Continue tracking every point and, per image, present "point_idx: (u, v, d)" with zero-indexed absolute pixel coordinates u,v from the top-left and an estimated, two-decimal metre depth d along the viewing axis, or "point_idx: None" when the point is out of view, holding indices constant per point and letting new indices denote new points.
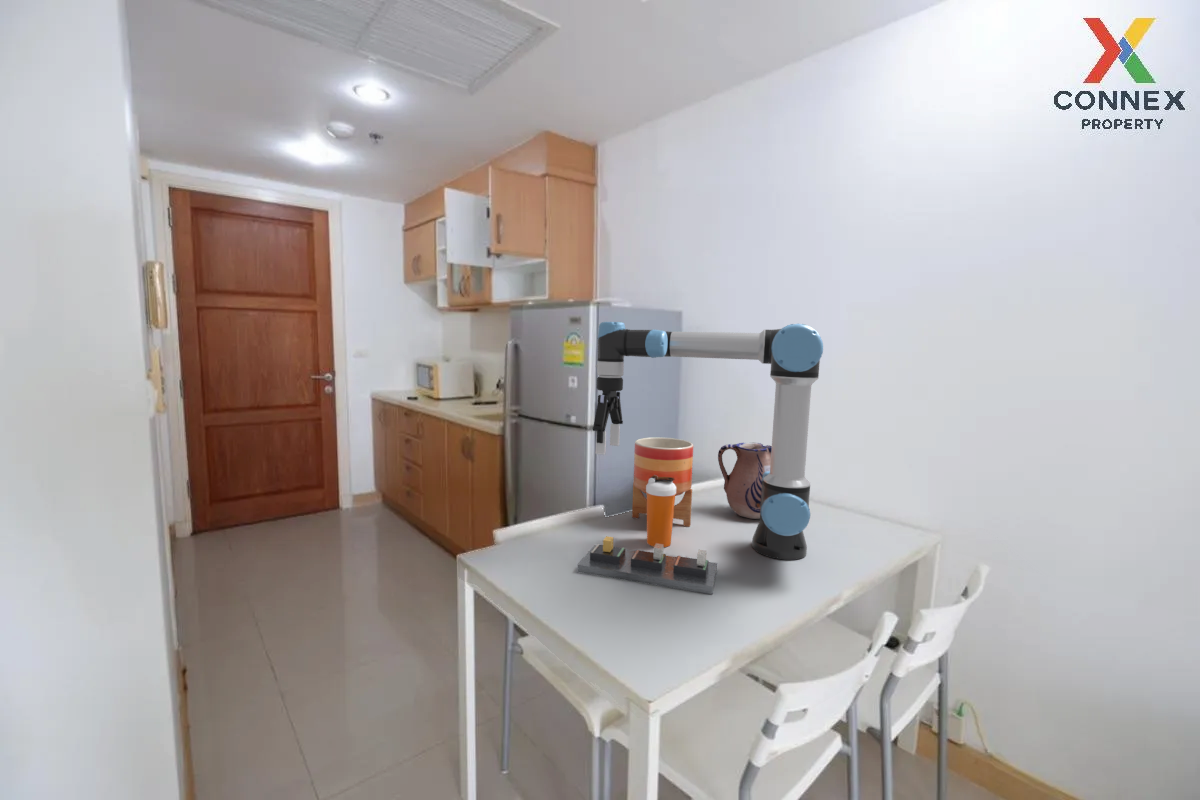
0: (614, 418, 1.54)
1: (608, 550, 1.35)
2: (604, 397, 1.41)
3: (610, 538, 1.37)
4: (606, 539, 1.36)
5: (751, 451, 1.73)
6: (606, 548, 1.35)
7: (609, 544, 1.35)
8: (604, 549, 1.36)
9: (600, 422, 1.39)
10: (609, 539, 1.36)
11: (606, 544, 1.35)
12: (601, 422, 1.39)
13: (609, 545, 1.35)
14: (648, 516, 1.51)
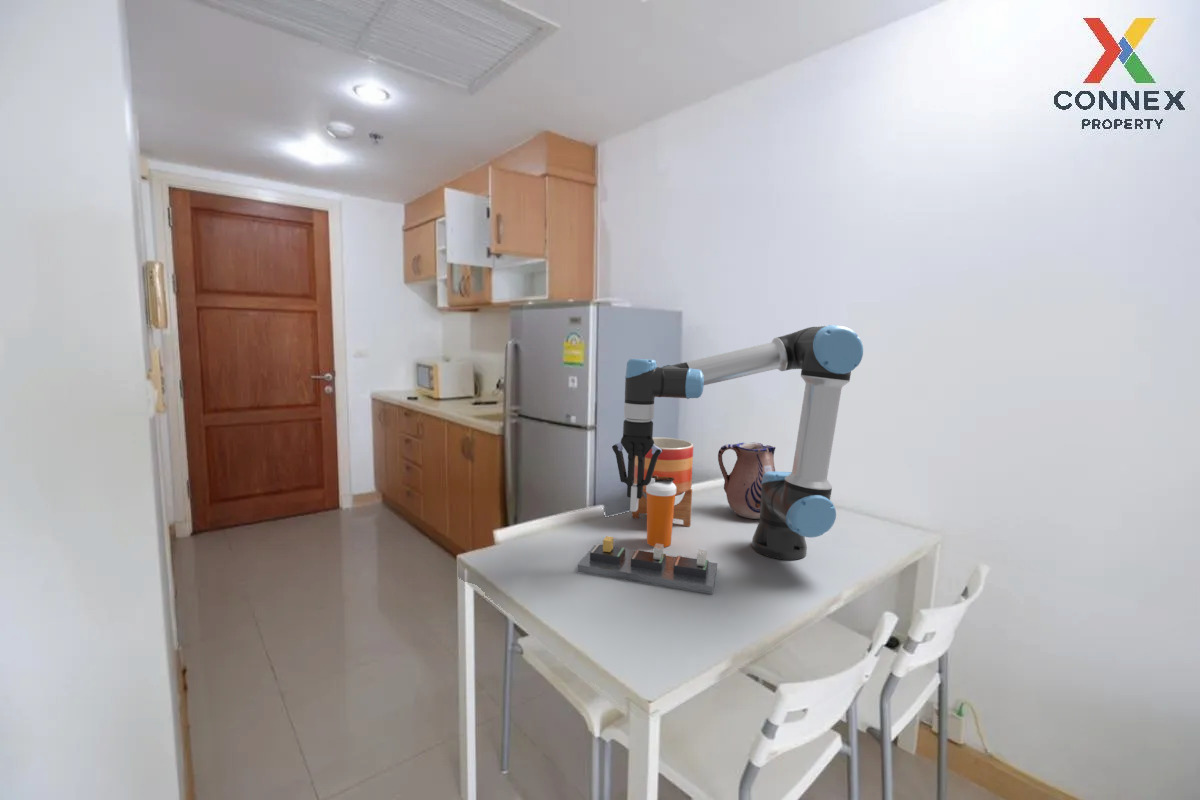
0: None
1: (608, 550, 1.35)
2: None
3: (610, 538, 1.37)
4: (606, 539, 1.36)
5: (751, 451, 1.73)
6: (606, 548, 1.35)
7: (609, 544, 1.35)
8: (604, 549, 1.36)
9: None
10: (609, 539, 1.36)
11: (606, 544, 1.35)
12: None
13: (609, 545, 1.35)
14: (648, 516, 1.51)
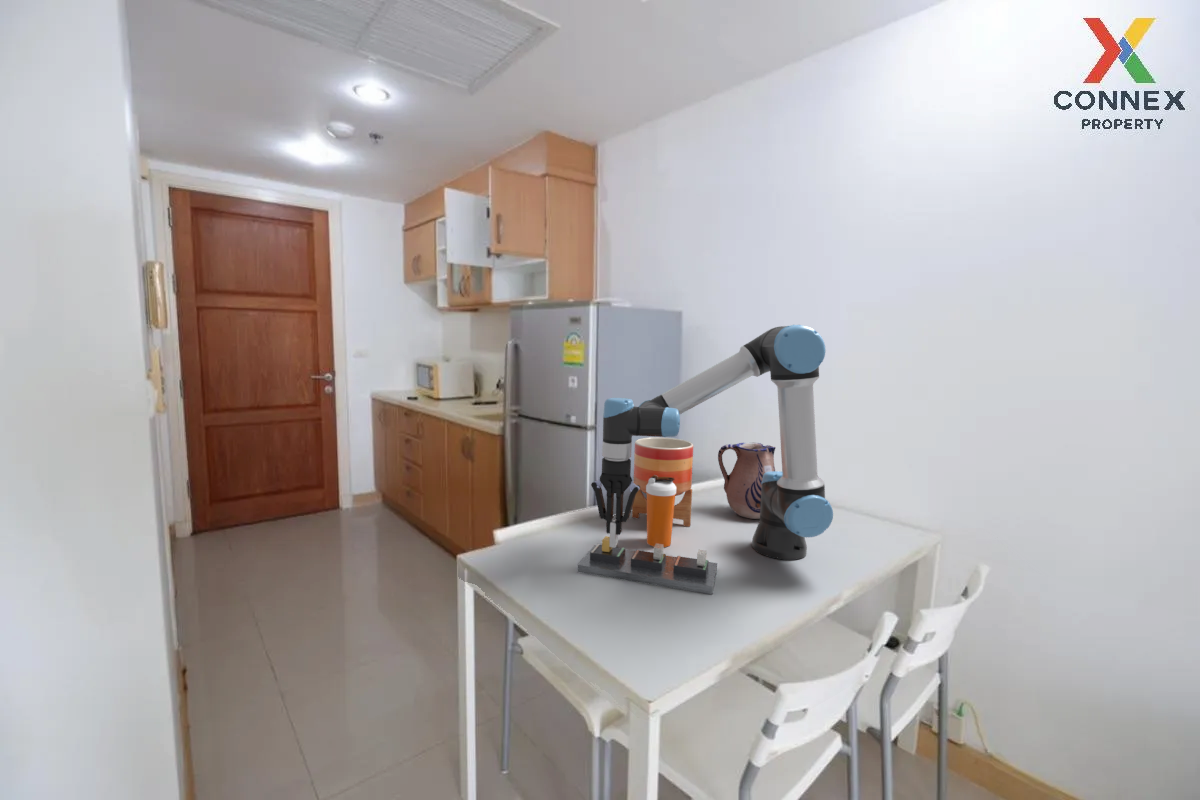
0: None
1: (607, 550, 1.35)
2: None
3: (609, 538, 1.37)
4: (605, 539, 1.36)
5: (751, 451, 1.73)
6: (605, 548, 1.35)
7: (608, 544, 1.35)
8: (603, 549, 1.36)
9: None
10: (608, 539, 1.36)
11: (605, 543, 1.35)
12: None
13: (608, 545, 1.35)
14: (648, 516, 1.51)
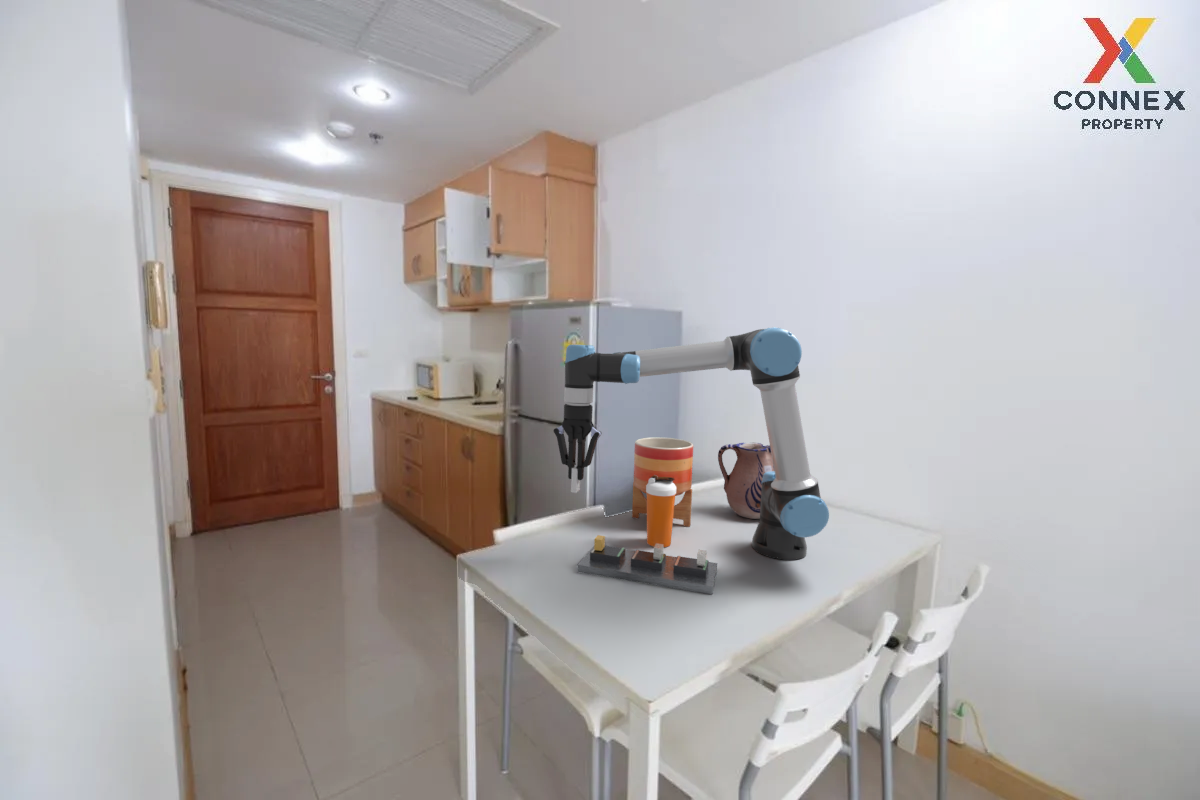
0: None
1: (599, 549, 1.36)
2: None
3: (601, 537, 1.37)
4: (597, 538, 1.37)
5: (751, 451, 1.73)
6: (597, 547, 1.36)
7: (600, 543, 1.36)
8: (595, 548, 1.36)
9: None
10: (600, 538, 1.37)
11: (598, 542, 1.36)
12: None
13: (600, 544, 1.36)
14: (648, 516, 1.51)
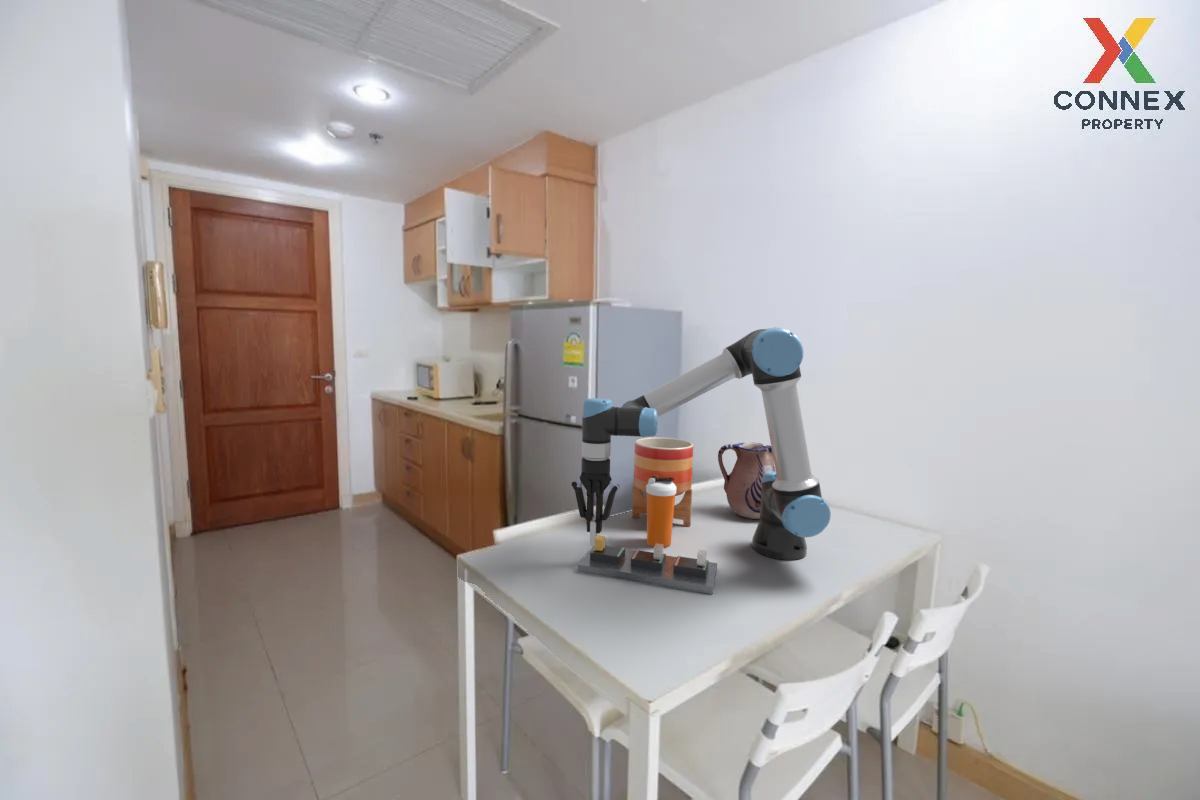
0: None
1: (600, 549, 1.36)
2: None
3: (602, 537, 1.37)
4: (598, 538, 1.37)
5: (751, 451, 1.73)
6: (598, 547, 1.36)
7: (601, 543, 1.36)
8: (596, 548, 1.36)
9: None
10: (601, 538, 1.37)
11: (598, 542, 1.36)
12: None
13: (601, 544, 1.36)
14: (648, 516, 1.51)
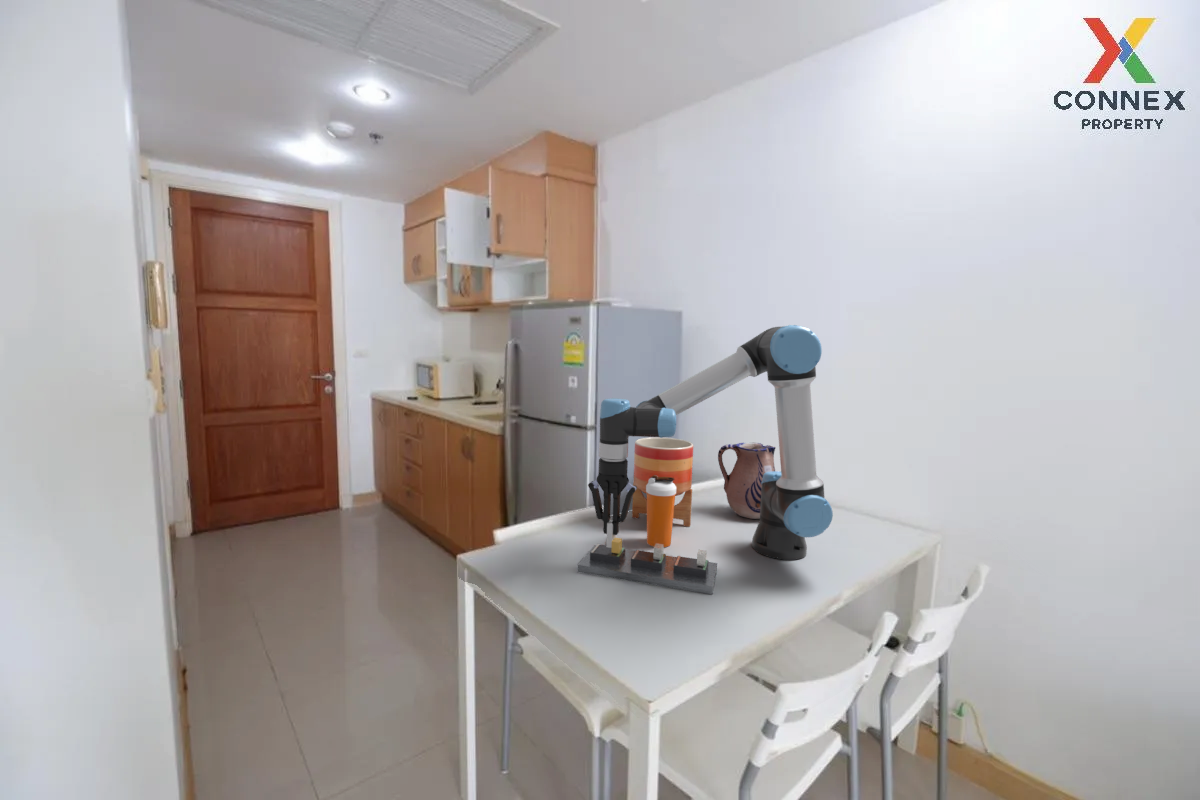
0: None
1: (617, 551, 1.35)
2: None
3: (619, 539, 1.36)
4: (615, 540, 1.35)
5: (751, 451, 1.73)
6: (615, 549, 1.35)
7: (618, 545, 1.34)
8: (613, 550, 1.35)
9: None
10: (618, 540, 1.35)
11: (615, 545, 1.34)
12: None
13: (618, 546, 1.34)
14: (648, 516, 1.51)
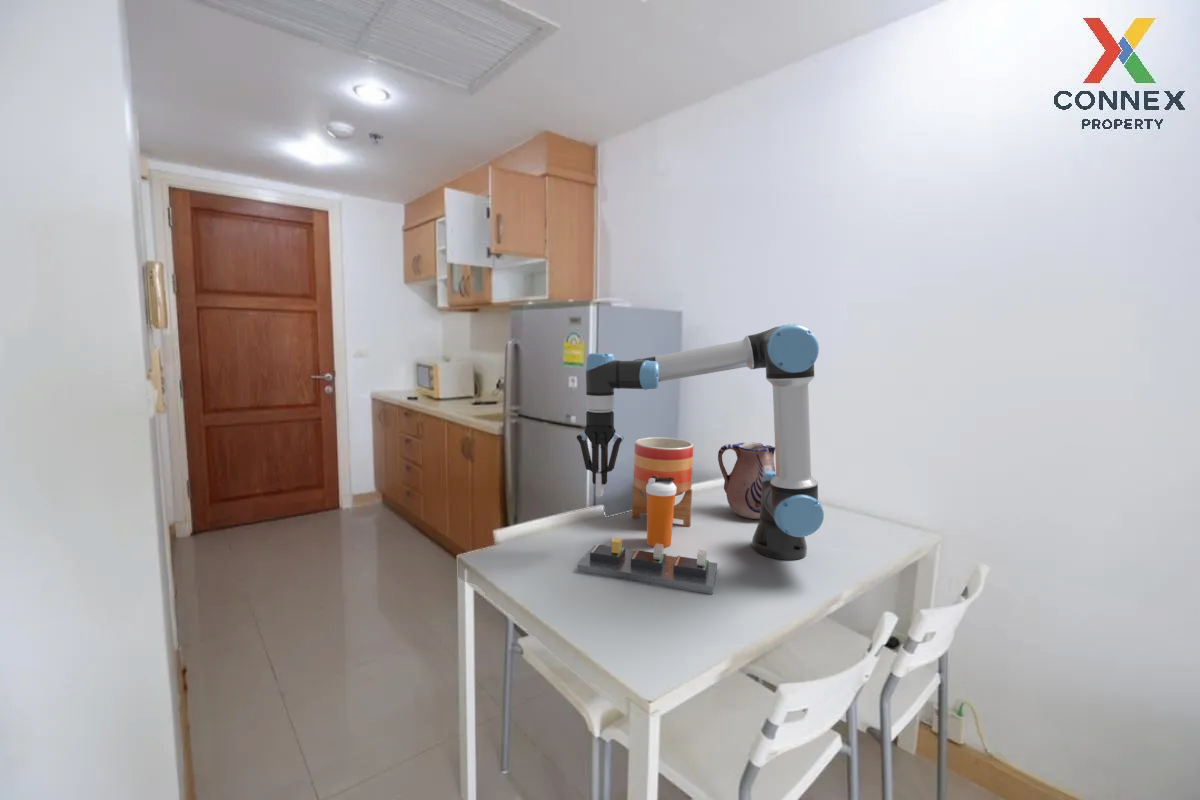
0: None
1: (617, 551, 1.35)
2: None
3: (619, 539, 1.36)
4: (615, 540, 1.35)
5: (751, 451, 1.73)
6: (615, 549, 1.35)
7: (618, 545, 1.34)
8: (613, 550, 1.35)
9: None
10: (618, 540, 1.35)
11: (615, 545, 1.34)
12: None
13: (618, 546, 1.34)
14: (648, 516, 1.51)
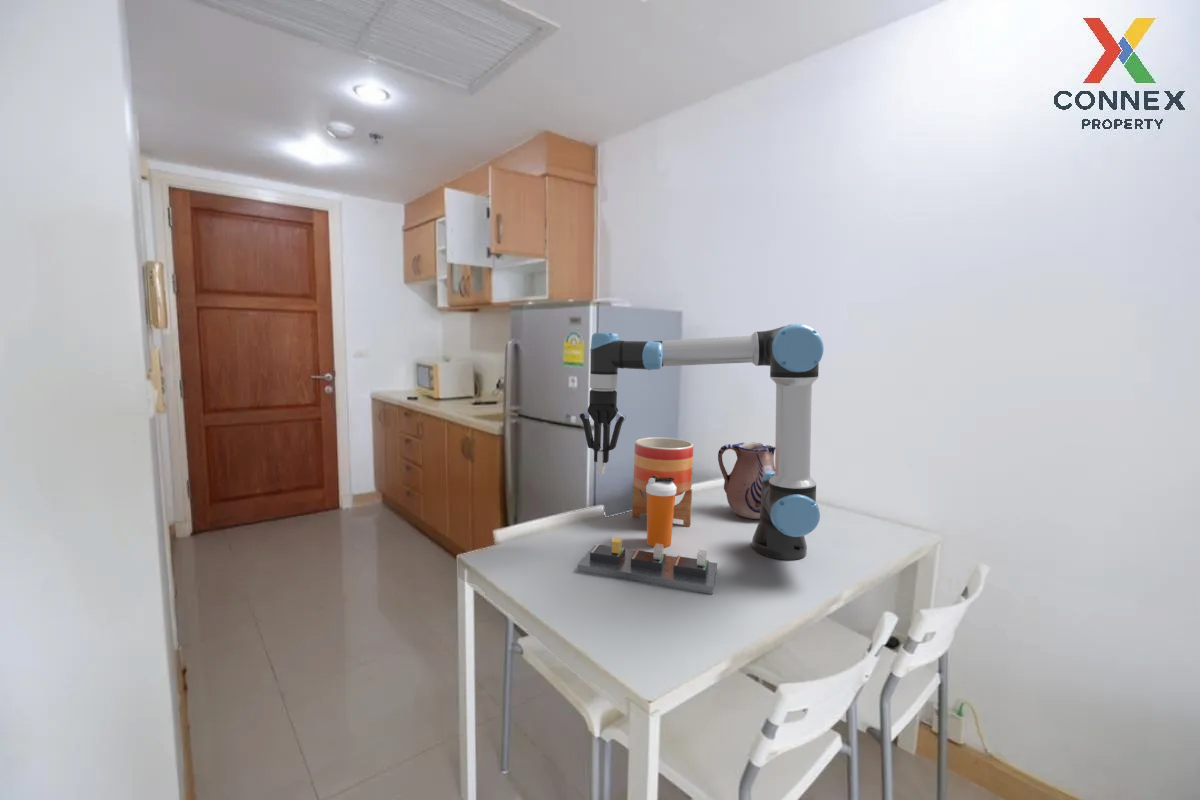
0: None
1: (617, 551, 1.35)
2: None
3: (619, 539, 1.36)
4: (615, 540, 1.35)
5: (751, 451, 1.73)
6: (615, 549, 1.35)
7: (618, 545, 1.34)
8: (613, 550, 1.35)
9: None
10: (618, 540, 1.35)
11: (615, 545, 1.34)
12: None
13: (618, 546, 1.34)
14: (648, 516, 1.51)
